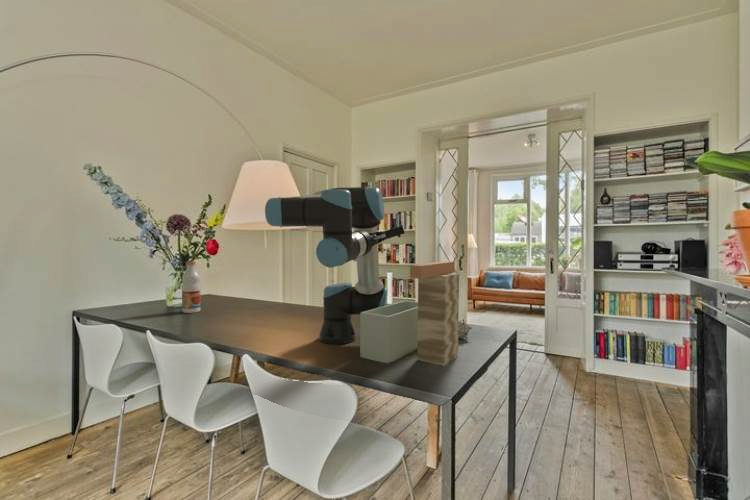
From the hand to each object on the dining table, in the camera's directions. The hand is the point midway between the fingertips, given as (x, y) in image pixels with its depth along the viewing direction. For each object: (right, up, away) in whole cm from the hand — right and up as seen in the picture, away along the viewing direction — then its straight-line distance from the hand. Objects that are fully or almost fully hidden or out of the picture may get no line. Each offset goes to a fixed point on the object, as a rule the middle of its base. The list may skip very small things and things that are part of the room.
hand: (384, 234), depth 122 cm
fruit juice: (-108, -40, +84) cm, 142 cm away
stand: (+19, -44, +7) cm, 48 cm away
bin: (+5, -43, +17) cm, 47 cm away
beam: (+17, -14, +3) cm, 22 cm away
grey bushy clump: (+33, -43, +32) cm, 63 cm away
